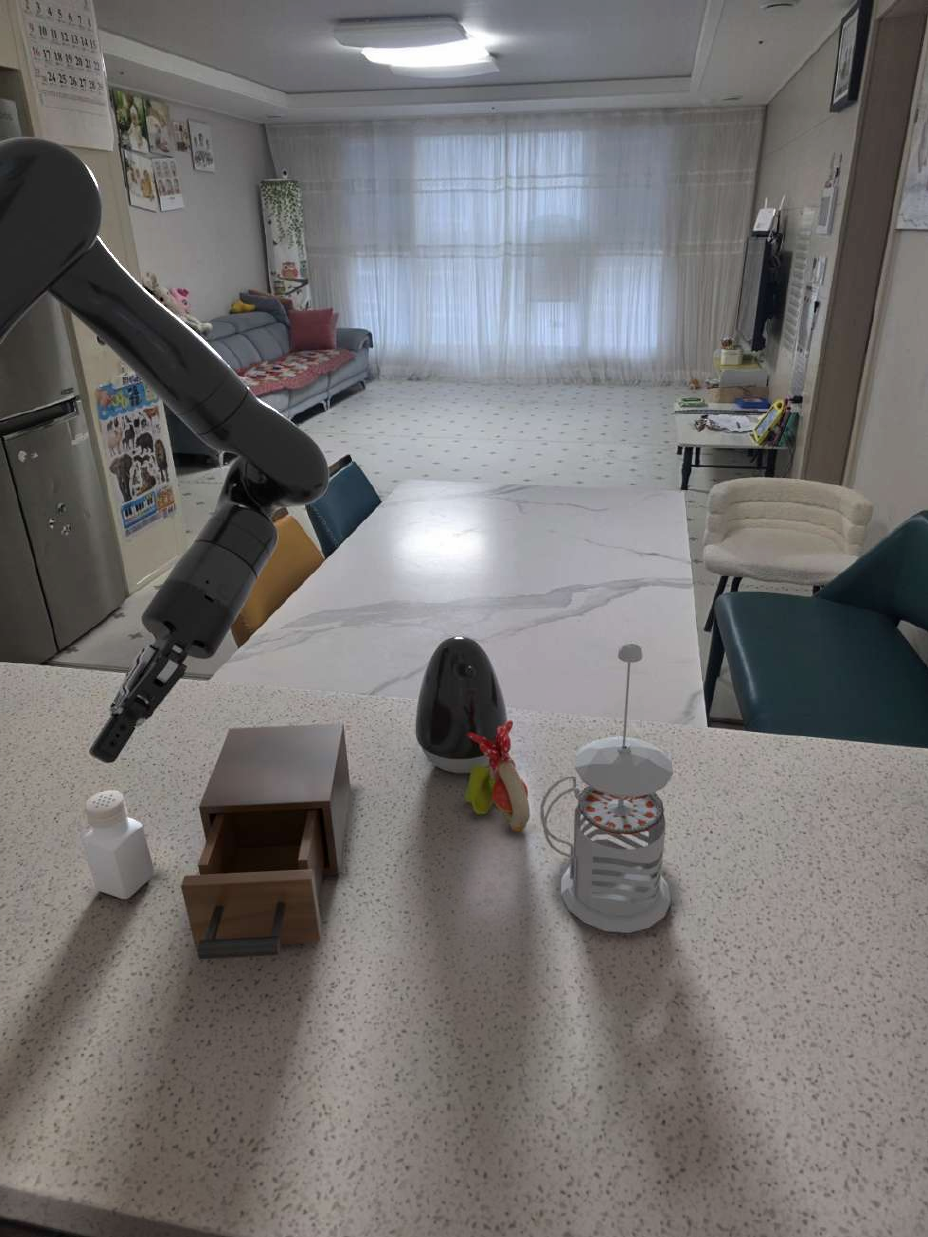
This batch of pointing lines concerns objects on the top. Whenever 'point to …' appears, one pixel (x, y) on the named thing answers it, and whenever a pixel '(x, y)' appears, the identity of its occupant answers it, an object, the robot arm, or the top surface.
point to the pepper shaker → (116, 846)
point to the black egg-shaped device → (458, 705)
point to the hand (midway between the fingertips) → (100, 758)
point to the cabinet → (284, 778)
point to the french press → (617, 830)
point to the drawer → (257, 883)
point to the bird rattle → (498, 780)
